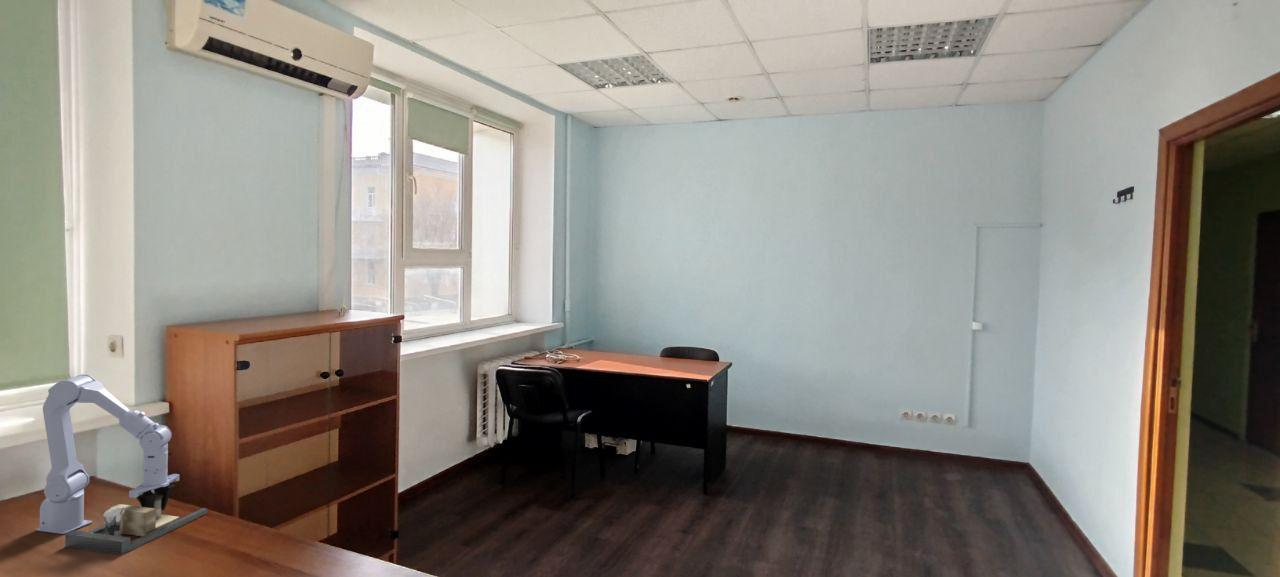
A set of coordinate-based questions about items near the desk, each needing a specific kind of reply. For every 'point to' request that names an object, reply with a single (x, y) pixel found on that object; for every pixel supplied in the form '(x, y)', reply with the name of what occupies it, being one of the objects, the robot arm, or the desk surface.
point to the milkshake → (114, 521)
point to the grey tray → (120, 544)
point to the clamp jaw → (144, 518)
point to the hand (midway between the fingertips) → (154, 512)
